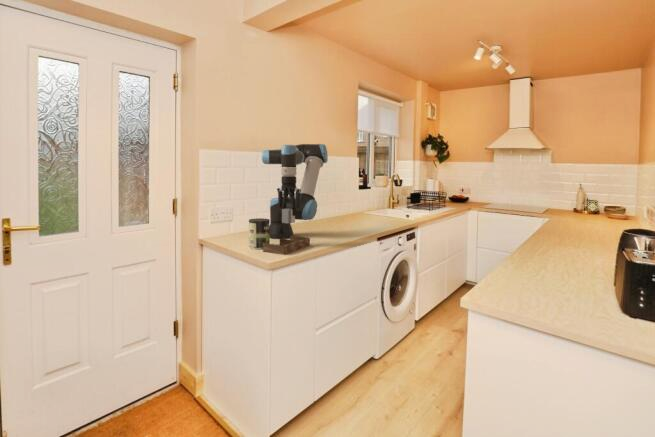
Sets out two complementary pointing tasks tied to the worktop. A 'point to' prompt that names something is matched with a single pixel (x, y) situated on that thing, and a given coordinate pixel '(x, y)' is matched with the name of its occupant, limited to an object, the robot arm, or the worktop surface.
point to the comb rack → (287, 245)
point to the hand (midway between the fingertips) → (289, 221)
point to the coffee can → (258, 233)
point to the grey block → (286, 215)
